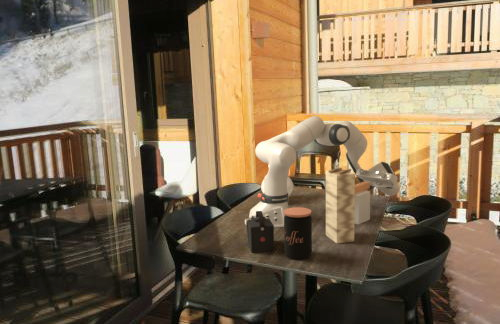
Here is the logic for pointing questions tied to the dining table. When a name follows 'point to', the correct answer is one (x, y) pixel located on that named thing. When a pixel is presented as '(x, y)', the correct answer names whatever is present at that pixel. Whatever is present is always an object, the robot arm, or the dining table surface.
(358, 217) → the step
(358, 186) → the block
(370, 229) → the dining table surface
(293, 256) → the coffee jar
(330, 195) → the stand
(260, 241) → the camera
